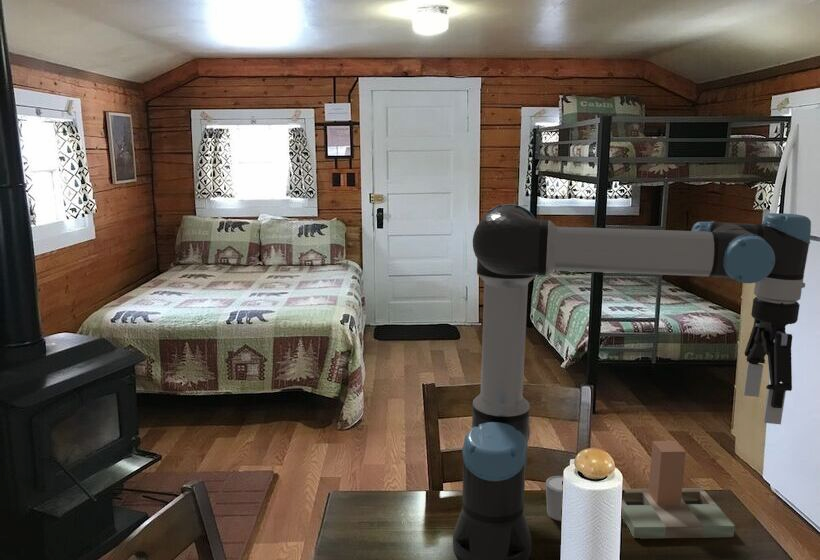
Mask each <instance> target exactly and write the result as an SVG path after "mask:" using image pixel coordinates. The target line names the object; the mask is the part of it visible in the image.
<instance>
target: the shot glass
mask: <svg viewBox="0 0 820 560" xmlns="http://www.w3.org/2000/svg"><path fill="white" fill-rule="evenodd" d="M562 481H563V475H554V476H550V477H548V478H547V479H546V481H545V495H546V496H545V499H546V514H547V515H548V516H549V517H550V519H553V520H555V521H559V522H562V521H561V509H562Z"/></svg>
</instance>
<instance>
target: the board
mask: <svg viewBox="0 0 820 560" xmlns="http://www.w3.org/2000/svg"><path fill="white" fill-rule="evenodd" d="M622 489H623V490H624V491H625V493H624V496H623V500H622V518H621V520H622V519H623V520H622V522H623V523H624V522H625V523H624V525H625V524H626V525H627V527H628V528H629V530H630V532H631V533H630V532H629V533H630V535H631V534H632V535H631V537H632V536H633V537H634V538H640V539H686V538H687V539H689V538H690V539H695V538H700V539H701V538H705V539H706V538H734V535H735V526H736V525H735V524H734V523H733V521H731V519H730V518H729V517H728V516H727V515H726V513H725V512H723V510H722V509H721V507H720V506H718V504H717V503H716V502H715V501H714V500H713V499H712V497H711V496H710V495H709V494H708V493H707V492H706V490H705V489H704V488H702V487H682V496H681V505H657V504H656V503H655V501H654V500H653V499H652V497H651V496H650V494H649V493H648V488H622ZM626 525H625V526H626ZM627 527H626V528H627ZM628 528H627V529H628ZM629 530H628V531H629ZM633 537H632V538H633ZM634 538H633V539H634Z"/></svg>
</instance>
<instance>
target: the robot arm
mask: <svg viewBox="0 0 820 560" xmlns="http://www.w3.org/2000/svg"><path fill="white" fill-rule="evenodd" d="M811 232H812V221H811V219H810V218H809V217H807V216H805V215H801V214H793V213H785V212H784V213H782V212H781V213H779V212H776V213H774V212H771V213H767V214H765V216H764V219H763V221H762V223H757V224H756V223H739V222H737V223H736V222H726V221H725V222H724V221H723V222H721V221H715V220H712V221H697V222H696V223H694V224H693V226H692V228H691V230H672V229H670V230H669V229H667V230H665V229H638V228H637V229H636V228H612V227H611V228H608V227H607V228H605V227H604V228H603V227H582V226H581V227H578V226H577V227H574V226H573V227H572V226H556V225H555V223H553V222H552V221H551V220H549V219H548V220H545V219H544V220H541V219H537V218H536V217H535V215H534V214H533V213H532V212H531V211H529V210H528V209H527V208H525V207H523V206H522V205H518V204H515V203H514V204H513V203H506V204H500V205H496V206H494V207H493V208H491V209H488V211H487V212H486V213H485V214H484V216H482V218H481V220H480V221H479V223H477V225H476V228H475V230H474V232H473V236H472V248H473V252H474V253H473V254H474V255H475V258H476V259H477V260H476V275H478V277H479V278H480V279H481V280H482V281H483V284H484V285H483V307H482V308H483V312H482V334H481V335H482V339H481V340H482V341H481V342H482V345H481V369H480V393H479V395H477V396H476V397H475V398H474V399H473V401H472V417H471V419H472V420H471V421H472V422H471V428H470V430H468V432H466V435H465V436H464V441H463V445H462V449H461V451H462V452H461V453H462V455H461V456H462V461H463V462H462V463H463V465H462V507H461V510H460V513H459V516H458V519H457V522H456V524H455V527H454V529H453V533H452V548H453V551H454V554H455V555H456V556H457V557H458V558H459V560H529V558H530V556H531V554H532V541H533V539H532V535H531V532H530V530H529V526H528V523H527V520H526V516H525V514H524V507H525V505H524V504H525V488H526V487H525V482H526V469H527V457H528V445H529V444H528V443H529V439H530V434H531V433H530V432H531V429H530V408H531V407H530V406H531V405H530V403H529V401H528V400H527V399H526V398H525V397H524V396H523V394H524V379H525V376H524V375H525V373H524V372H525V357H526V356H525V354H526V353H525V352H526V351H525V350H526V333H527V310H528V309H527V308H528V294H529V293H528V291H529V283H530V282H531V281H533V279H535V278H536V277H537V276H542V277H546V276H547V277H548V276H549V275H550V274H551V273H552V272H555V271H565V272H566V271H567V272H588V273H592V272H594V273H614V274H617V273H618V274H634V275H635V274H637V275H643V274H644V275H660V276H661V275H662V276H664V275H666V276H667V275H668V276H687V277H688V276H690V277H709V278H710V277H712V278H723V279H724V278H725V279H726V278H728V279H731V280H733V281H736V282H739V283H743V284H754V290H753V294H754V296H755V297H754V298H753V299H752V306H751V307H752V308H751V312H750V313H751V316H752V318H753V319H754V321H753V326H752V329H751V333H750V335H749V339H748V342H747V344H746V347H745V351H744V356H745V357H746V361H747V363H746V369H745V376H744V378H745V379H744V385H743V390H742V392H743V393H742V395H743V396H745V397H760V391H761V382H762V377H763V369H764V364H766V359H765V357H766V355H767V361H768V372H769V384H768V385H766V389H767V390H766V391H767V393H766V399H765V405H764V412H763V418H762V419H763V420H762V422H763V423H764V424H772V425H782V418H783V411H784V406H785V398H786V392H788V391H789V392H791V391H792V389H793V372H792V368H793V367H792V344H793V343H792V342H793V333H787V332H786V326H788V325H792V324H796V323H797V322H798V320H799V312H800V303H799V302H798V301H799V300H801V296H802V291H803V290H802V289H803V288H805V287H806V283H805V282H804V277H805V269H806V265H807V260H808V254H809V248H810V244H811V234H812V233H811Z"/></svg>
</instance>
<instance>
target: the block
mask: <svg viewBox="0 0 820 560" xmlns="http://www.w3.org/2000/svg"><path fill="white" fill-rule="evenodd" d="M651 442H652V443H651V453H650V456H651V457H650V464H649V465H650V467H649V477H648V478H649V479H648V488H647V489H648V493H649V494H650V496H651V497H652V499H653V500H654V501H655V503H656V504H657V505H681V496H682V488H683V483H684V473H685V472H684V471H685V462H686V453H687V452H686V450H685V449H684V448H683V446H682V445H680V444H679V442H677V440H652V441H651Z"/></svg>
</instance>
